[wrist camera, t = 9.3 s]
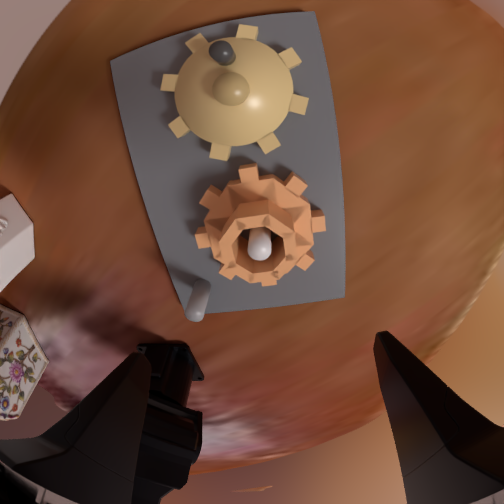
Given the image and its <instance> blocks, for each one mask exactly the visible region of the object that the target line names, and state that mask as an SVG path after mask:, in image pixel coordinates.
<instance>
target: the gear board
mask: <svg viewBox="0 0 504 504" xmlns="http://www.w3.org/2000/svg"><path fill="white" fill-rule="evenodd" d="M110 64H111V70H112V76H113V81H114V87H115V92H116V97H117V101H118V106H119V111H120V115H121V120H122V124H123V128H124V132H125V136H126V140H127V144H128V148H129V152H130V156H131V159H132V163H133V166H134V170H135V173H136V177H137V180H138V184H139V187H140V190H141V194H142V197H143V200H144V203H145V206H146V209H147V212H148V216H149V219H150V222H151V224H152V227H153V230H154V233H155V236H156V239H157V242H158V245H159V247H160V250H161V253H162V255H163V258H164V261H165V264H166V266H167V269H168V271H169V274H170V277H171V279H172V282H173V284H174V287H175V289H176V292H177V294H178V296H179V299H180V301H181V304H182V306H183V308H184V311H185V316H186V318H187V319H189V320H191V321H194V322H198V321H201V320H202V319H203V316H204V314H206V313H219V312H230V311H241V310H251V309H260V308H269V307H278V306H286V305H294V304H302V303H309V302H317V301H324V300H330V299H337V298H344V297H345V220H344V199H343V183H342V171H341V159H340V149H339V140H338V132H337V124H336V116H335V109H334V103H333V96H332V90H331V84H330V79H329V73H328V68H327V63H326V58H325V53H324V48H323V44H322V39H321V35H320V31H319V27H318V23H317V19H316V15H315V11H313V12H292V13H280V14H270V15H262V16H255V17H248V18H242V19H237V20H231V21H226V22H222V23H217V24H213V25H209V26H205V27H201V28H197V29H193V30H190V31H186V32H183V33H180V34H177V35H174V36H170V37H167V38H165V39H162V40H159V41H156V42H153V43H151V44H148V45H146V46H143V47H140V48H138V49H136V50H133V51H131V52H129V53H126V54H124V55H122V56H120V57H117V58H115V59H113V60H111V61H110ZM253 163H257V166H258V171H259V176H262V175H269V174H274V175H275V176H277V177H278V178H280V179H281V180H282V181H285V180H286V178H287V177H288V176H289V175H290V173H291V172H292V171H293V172H294V173H295V174H297V175H298V176H300V177H301V178H302V179H304V180H305V181H306V183H307V185H308V186H307V188H306V189H305V190H304V191H303V193H302V195H303V196H304V197H306V198H307V199H308V201H309V203H310V209H311V211H313V210H320V209H322V211H323V213H324V215H325V226H326V231H322V232H315V233H313V241H314V245H313V246H312V247H311V248H310V249H309V250H311V251H312V252H313V255H314V259H315V261H314V262H313V263H312V264H311V265H310V266H309V267H308V268H307V269H306V270H305V271H304V270H303V269H301V268H300V267H298V266H297V265H295V266H294V267H293V268H292V269H291V270H290V271H289V272H288V273H286V274H284V275H283V276H282V277H281V278H280V279H279V280H277V285H271V286H263V287H262V283H261V282H257V283H249V282H247V281H245V280H244V279H242V278H240V277H239V276H237V275H235V276H234V277H233V278H232V280H230V279H228V278H226V277H225V276H223V275H221V274H220V273H218V272H219V269H220V265H221V263H222V262H220V261H218V260H217V259H215V258H214V256H213V252H212V249H211V247H207V248H200V249H199V248H198V245H197V241H196V238H195V233H196V231H197V229H198V227H204V226H205V224H204V219H205V217H206V215H207V213H208V212H209V209H208V208H206V207H205V206H203V205H201V204H200V203H199V202H200V200H201V199H202V197H203V196H204V194H205V193H206V191H207V190H208V188H209V187H210V185H213V186H214V187H216V188H218V189H219V190H221V191H223V190H224V188H225V187H226V185H227V184H228V182H229V181H232V180H238V179H240V175H239V170H238V169H239V167H240V166H241V165H247V164H253ZM240 235H241V236H242V237H243V238H245V239H246V240H248V241H249V242H248V254H249V256H250V257H251V258H253V259H255V260H265V259H267V258H268V257H269V256H270V254H271V243H272V242H273V241H274V240H275V238H276V237H277V236H278V234H276V233H275V232H273V231H272V230H270V229H269V228H267V227H266V226H264V227H257V228H250V229H243V230H242V232H241V233H240Z"/></svg>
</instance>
